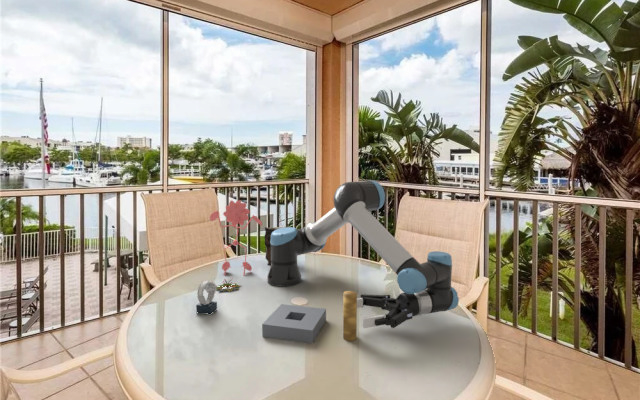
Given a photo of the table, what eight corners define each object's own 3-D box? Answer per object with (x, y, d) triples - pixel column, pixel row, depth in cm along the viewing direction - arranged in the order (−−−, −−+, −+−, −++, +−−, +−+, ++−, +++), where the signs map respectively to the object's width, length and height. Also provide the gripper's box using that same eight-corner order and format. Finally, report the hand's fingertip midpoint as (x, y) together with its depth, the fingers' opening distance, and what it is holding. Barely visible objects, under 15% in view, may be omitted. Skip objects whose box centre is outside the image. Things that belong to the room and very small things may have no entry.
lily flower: (211, 286, 154) (211, 276, 154) (239, 283, 159) (239, 273, 159) (215, 296, 143) (214, 285, 143) (244, 291, 148) (244, 281, 148)
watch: (219, 307, 131) (218, 278, 130) (207, 317, 123) (206, 286, 122) (206, 306, 132) (204, 277, 131) (193, 315, 124) (192, 284, 123)
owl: (295, 264, 185) (294, 226, 183) (273, 269, 178) (272, 229, 176) (283, 259, 195) (282, 223, 193) (262, 263, 188) (261, 226, 186)
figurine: (261, 276, 166) (259, 201, 163) (207, 275, 168) (204, 201, 165) (268, 267, 182) (266, 198, 179) (218, 266, 183) (216, 199, 180)
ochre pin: (342, 340, 107) (342, 295, 105) (344, 334, 110) (344, 290, 109) (355, 342, 105) (355, 296, 104) (357, 335, 109) (357, 291, 108)
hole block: (262, 336, 109) (262, 324, 109) (281, 315, 124) (281, 303, 124) (312, 343, 105) (312, 330, 104) (326, 320, 120) (326, 308, 120)
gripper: (438, 332, 103) (373, 345, 96) (392, 300, 126) (337, 309, 119) (439, 307, 102) (373, 318, 95) (392, 280, 125) (337, 287, 118)
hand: (353, 313), depth 107 cm, fingers open, 13 cm apart
